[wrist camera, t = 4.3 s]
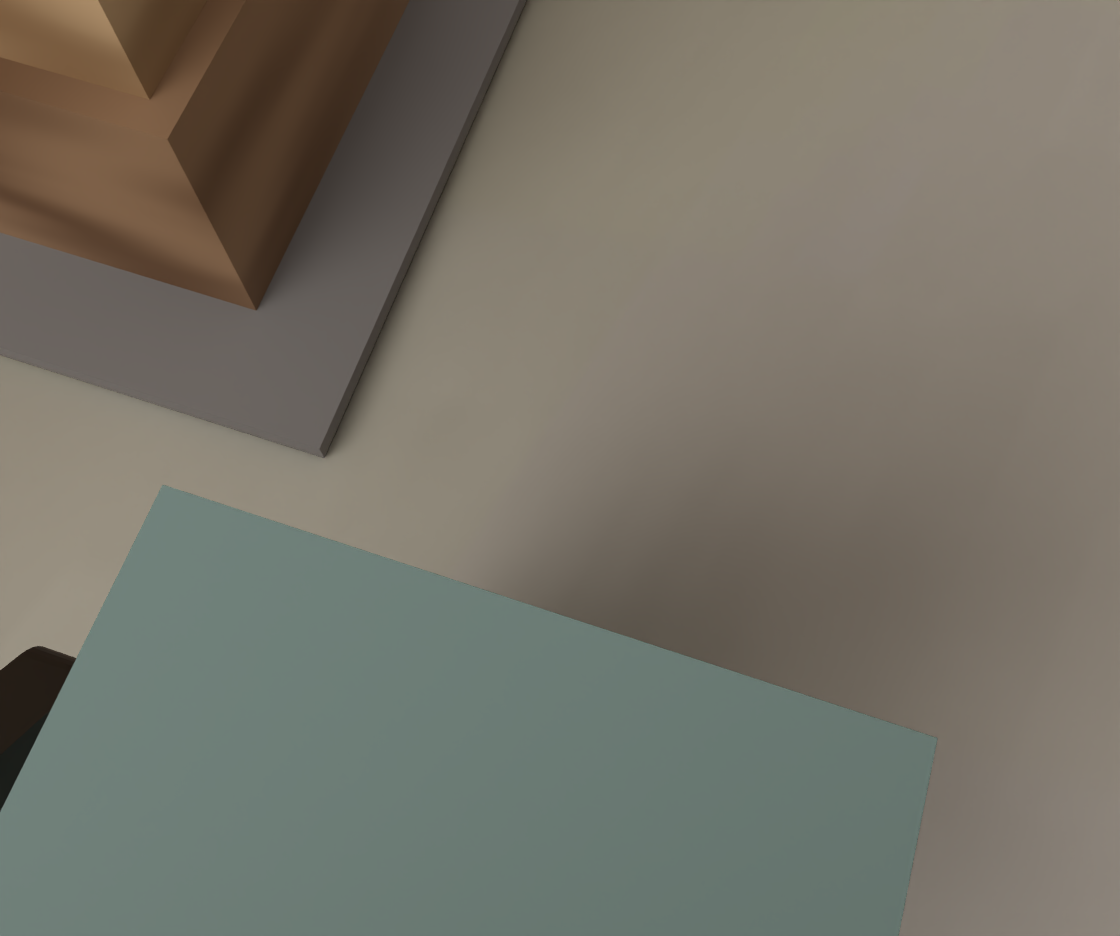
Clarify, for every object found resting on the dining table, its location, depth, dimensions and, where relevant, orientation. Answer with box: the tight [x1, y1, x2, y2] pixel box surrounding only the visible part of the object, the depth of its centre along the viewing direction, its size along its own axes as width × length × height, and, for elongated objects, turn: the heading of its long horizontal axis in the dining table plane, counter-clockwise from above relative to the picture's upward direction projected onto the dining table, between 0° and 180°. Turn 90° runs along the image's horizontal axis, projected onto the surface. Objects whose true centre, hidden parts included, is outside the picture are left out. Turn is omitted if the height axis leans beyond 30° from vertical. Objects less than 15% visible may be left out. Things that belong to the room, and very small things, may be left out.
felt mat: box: [0, 0, 527, 458], centre depth 20 cm, size 12×12×1 cm
